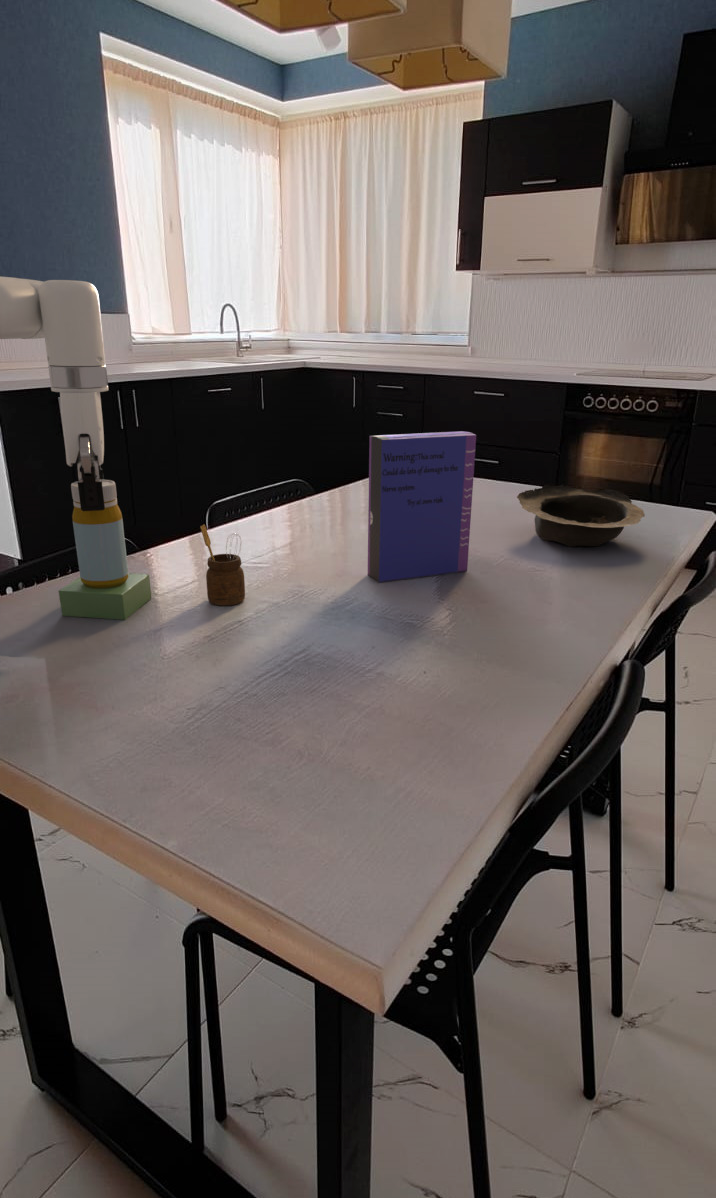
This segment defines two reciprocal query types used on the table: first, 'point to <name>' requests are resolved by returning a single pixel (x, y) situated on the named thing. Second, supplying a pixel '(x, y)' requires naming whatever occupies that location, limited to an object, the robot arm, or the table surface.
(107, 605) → the green block
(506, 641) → the table surface
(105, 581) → the bottle
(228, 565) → the utensil holder
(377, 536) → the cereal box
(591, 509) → the stone bowl
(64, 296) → the robot arm
